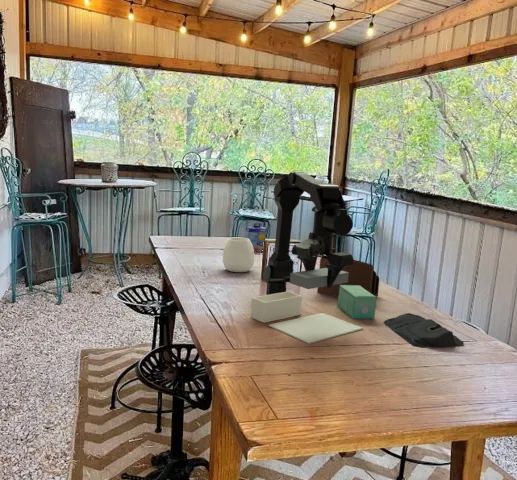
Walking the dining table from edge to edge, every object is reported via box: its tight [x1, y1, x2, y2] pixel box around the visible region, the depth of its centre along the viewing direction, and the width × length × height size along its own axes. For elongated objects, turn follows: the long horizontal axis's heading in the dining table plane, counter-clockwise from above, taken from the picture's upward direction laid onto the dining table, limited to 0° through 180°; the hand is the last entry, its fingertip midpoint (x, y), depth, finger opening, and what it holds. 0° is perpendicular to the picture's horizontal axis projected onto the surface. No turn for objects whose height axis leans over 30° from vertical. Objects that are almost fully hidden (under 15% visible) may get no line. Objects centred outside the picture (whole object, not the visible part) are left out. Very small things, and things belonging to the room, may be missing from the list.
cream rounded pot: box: [222, 236, 255, 273], centre depth 209 cm, size 13×13×14 cm
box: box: [337, 285, 378, 320], centre depth 160 cm, size 7×14×8 cm, turn 12°
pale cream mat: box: [268, 312, 364, 345], centre depth 144 cm, size 16×22×1 cm
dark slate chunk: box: [383, 312, 465, 349], centre depth 143 cm, size 15×22×5 cm
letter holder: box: [316, 258, 380, 298], centre depth 181 cm, size 10×20×14 cm, turn 60°
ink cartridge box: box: [245, 223, 268, 251], centre depth 255 cm, size 10×6×14 cm, turn 112°
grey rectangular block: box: [289, 268, 349, 290], centre depth 141 cm, size 7×16×3 cm, turn 129°
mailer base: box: [250, 291, 303, 324], centre depth 152 cm, size 6×15×6 cm, turn 129°
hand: (319, 284), depth 142 cm, fingers closed on grey rectangular block, 7 cm apart
